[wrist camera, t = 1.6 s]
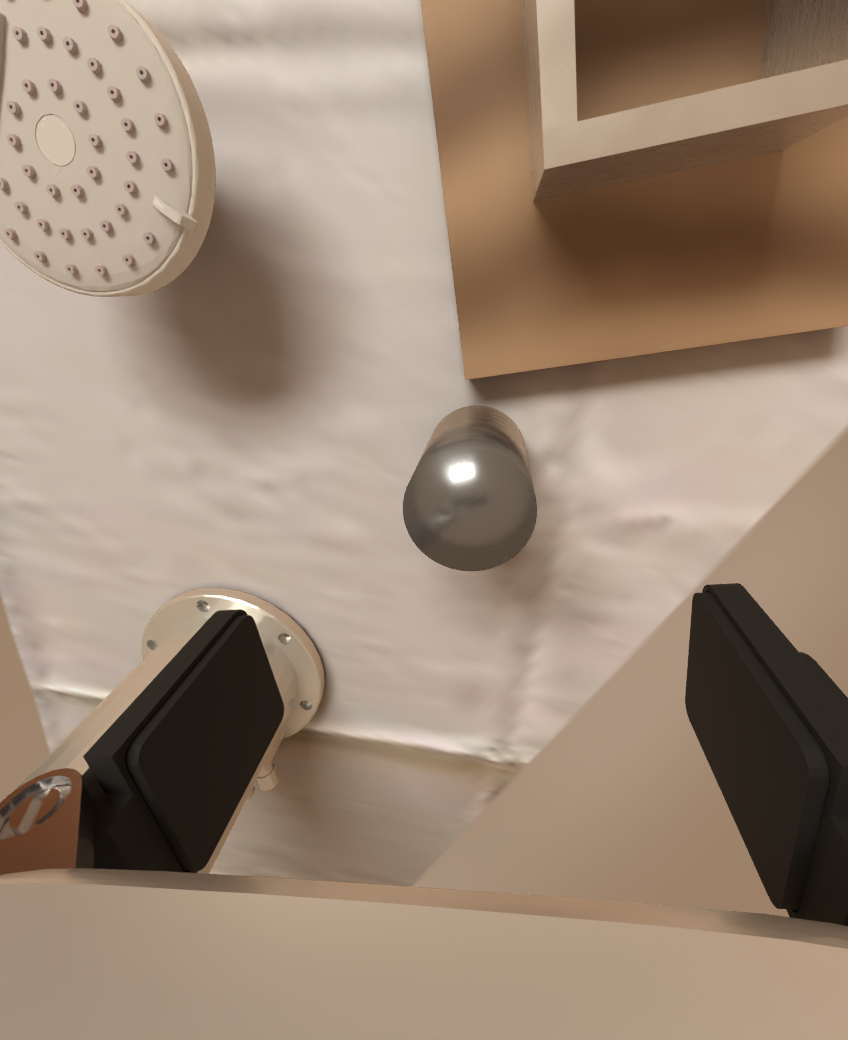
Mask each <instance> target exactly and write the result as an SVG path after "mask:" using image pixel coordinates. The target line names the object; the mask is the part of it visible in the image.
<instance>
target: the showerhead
mask: <svg viewBox="0 0 848 1040" xmlns="http://www.w3.org/2000/svg"><path fill="white" fill-rule="evenodd" d="M215 186H216V176H215V159H214V151H213V145H212V139H211V134H210V130H209V126H208V122H207V119H206V115H205V112H204V109H203V106H202V103H201V101H200V99H199V96H198V94H197V91H196V89H195V87H194V85H193V83H192V81H191V78H190V76H189V74H188V73H187V71H186V69H185V67H184V66H183V64H182V62H181V61H180V59H179V57H178V56H177V54H176V53H175V52H174V50H173V49H172V47H171V46H170V44H169V43H168V42H167V41H166V39H165V38H164V37H163V36H162V35H161V33H160V32H159V31H158V30H157V29H156V28H155V27H154V26H153V25H152V24H151V23H150V22H149V21H148V20H147V19H146V18H145V17H143V16H142V15H141V14H140V13H139V12H138V11H137V10H136V9H135V8H134V7H133V6H132V5H131V4H129V3H128V2H127V1H126V0H0V242H1V244H2V245H3V246H4V247H5V248H6V249H7V250H8V251H9V252H10V253H11V254H12V255H13V256H14V257H15V258H17V259H18V260H19V261H20V262H21V263H23V264H24V265H25V266H26V267H28V268H29V269H30V270H32V271H33V272H34V273H36V274H38V275H39V276H41V277H42V278H44V279H45V280H47V281H49V282H51V283H53V284H55V285H57V286H59V287H62V288H64V289H67V290H69V291H73V292H76V293H79V294H84V295H89V296H99V297H112V296H135V295H142V294H146V293H149V292H153V291H155V290H158V289H160V288H162V287H164V286H165V285H167V284H169V283H170V282H172V281H173V280H174V279H176V278H177V277H178V276H179V275H181V273H182V272H183V271H184V270H185V269H186V268H187V267H188V266H189V265H190V263H191V262H192V261H193V259H194V258H195V256H196V255H197V253H198V251H199V250H200V248H201V246H202V243H203V241H204V239H205V237H206V234H207V231H208V228H209V225H210V221H211V217H212V213H213V206H214V200H215Z"/></svg>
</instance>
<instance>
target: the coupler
mask: <svg viewBox="0 0 848 1040" xmlns="http://www.w3.org/2000/svg"><path fill="white" fill-rule="evenodd" d="M403 516H404V521H405V525H406V528H407V531H408V533H409V535H410V537H411V538H412V540H413V542H414V543H415V544H416V546H417V547H418V548H419V549H420V550H421V551H422V552H423V553H424V554H425V555H427V556H428V557H429V558H430V559H432V560H434V561H435V562H437V563H439V564H441V565H443V566H446V567H449V568H452V569H457V570H463V571H479V570H486V569H490V568H493V567H496V566H499V565H501V564H503V563H505V562H507V561H508V560H510V559H511V558H513V557H514V556H515V555H516V554H517V553H519V552H520V551H521V549H522V548H523V547H524V546H525V545H526V543H527V542H528V540H529V538H530V537H531V534H532V532H533V530H534V526H535V523H536V516H537V505H536V498H535V493H534V488H533V484H532V479H531V474H530V469H529V465H528V460H527V455H526V450H525V446H524V441H523V438H522V435H521V433H520V430H519V429H518V427H517V426H516V424H515V423H514V422H513V421H512V420H511V419H510V418H509V417H508V416H507V415H505V414H504V413H502V412H500V411H498V410H496V409H494V408H491V407H486V406H468V407H463V408H460V409H458V410H456V411H454V412H452V413H450V414H449V415H447V416H446V417H445V418H444V419H443V420H442V421H441V422H440V423H439V424H438V426H437V427H436V429H435V430H434V433H433V435H432V437H431V439H430V441H429V443H428V445H427V447H426V449H425V451H424V453H423V455H422V457H421V459H420V461H419V463H418V465H417V467H416V470H415V472H414V474H413V476H412V478H411V480H410V482H409V484H408V486H407V489H406V492H405V495H404V501H403Z"/></svg>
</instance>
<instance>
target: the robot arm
mask: <svg viewBox="0 0 848 1040" xmlns="http://www.w3.org/2000/svg"><path fill="white" fill-rule="evenodd" d="M142 657H143V661H142V662H141V663H140V664H139V665H138V666H137V667H136V668H135V669H134V670H133V671H132V672H131V673H130V674H129V675H128V676H127V677H126V678H125V679H124V680H123V681H122V682H121V683H120V684H119V685H118V686H117V687H116V688H115V689H114V690H113V691H112V692H111V693H110V694H109V695H108V696H107V697H106V698H105V699H104V700H103V701H102V702H101V703H100V704H99V705H98V706H97V707H96V708H95V709H94V710H93V711H92V712H91V713H90V714H89V715H88V716H87V717H86V718H85V719H84V720H83V721H82V722H81V723H80V724H79V725H78V726H77V727H76V728H75V729H74V730H73V731H72V732H71V733H70V734H69V735H68V736H67V737H66V738H65V739H64V740H63V741H62V742H61V743H60V744H59V745H58V747H57V748H56V749H55V750H54V751H53V752H52V753H51V754H50V755H49V756H48V757H47V758H46V759H45V760H44V761H43V762H42V763H41V764H40V765H39V766H38V767H37V768H36V769H35V770H34V771H33V772H32V773H31V774H30V775H29V776H28V777H27V778H26V779H25V780H24V781H23V782H22V783H21V784H20V785H19V786H18V787H17V788H16V789H15V790H14V791H13V792H12V793H11V794H9V795H8V796H7V797H6V798H5V799H4V800H3V801H1V802H0V1040H848V698H847V697H846V696H845V694H844V693H843V692H842V691H841V690H840V689H839V688H838V687H837V685H836V684H835V683H834V682H833V681H832V679H831V678H830V677H829V676H828V675H827V674H826V673H825V671H824V670H823V669H822V668H821V667H820V666H819V665H818V664H817V662H816V661H815V660H814V659H812V658H811V657H810V656H809V655H807V654H805V653H802V652H798V651H797V650H796V648H795V647H794V646H793V645H792V644H791V643H790V641H789V640H788V639H787V638H786V637H785V635H784V634H783V633H782V632H781V631H780V629H779V628H778V627H777V626H776V625H775V624H774V622H773V621H772V620H771V619H770V618H769V616H768V615H767V614H766V613H765V612H764V611H763V609H762V608H761V607H760V606H759V605H758V603H757V602H756V601H755V600H754V599H753V598H752V597H751V595H750V594H749V593H748V592H747V590H746V589H745V588H744V587H743V586H742V585H741V584H738V583H736V584H716V585H706V586H704V588H703V591H702V593H695V594H694V596H693V600H692V614H691V628H690V641H689V655H688V669H687V682H686V696H685V703H686V710H687V714H688V717H689V720H690V722H691V724H692V727H693V729H694V731H695V733H696V736H697V738H698V740H699V742H700V745H701V747H702V749H703V751H704V753H705V756H706V758H707V760H708V762H709V765H710V767H711V769H712V771H713V773H714V776H715V778H716V780H717V783H718V785H719V787H720V789H721V791H722V793H723V796H724V798H725V800H726V802H727V805H728V807H729V809H730V812H731V814H732V816H733V818H734V820H735V823H736V825H737V827H738V829H739V832H740V834H741V836H742V838H743V840H744V843H745V845H746V847H747V849H748V852H749V854H750V856H751V858H752V860H753V863H754V865H755V867H756V870H757V872H758V874H759V876H760V878H761V881H762V883H763V885H764V887H765V889H766V892H767V894H768V896H769V898H770V900H771V902H772V903H773V905H774V906H775V907H776V908H777V909H786V910H787V912H788V914H789V916H790V917H783V916H775V915H768V914H759V913H747V912H737V911H726V910H715V909H703V908H692V907H681V906H670V905H658V904H647V903H635V902H621V901H608V900H607V901H606V900H594V899H580V898H566V897H552V896H538V895H524V894H510V893H496V892H482V891H467V890H452V889H438V888H423V887H408V886H393V885H378V884H362V883H347V882H331V881H316V880H301V879H285V878H268V877H251V876H234V875H217V874H209V872H210V871H211V869H212V867H213V865H214V863H215V861H216V859H217V857H218V855H219V853H220V851H221V849H222V847H223V845H224V843H225V841H226V839H227V837H228V835H229V833H230V831H231V829H232V827H233V825H234V823H235V821H236V819H237V817H238V815H239V813H240V811H241V809H242V807H243V805H244V803H246V802H247V801H249V800H250V798H251V797H252V796H253V794H254V791H255V787H254V783H255V781H257V783H258V786H259V788H260V790H262V791H269V790H271V789H273V788H274V787H275V786H276V785H277V783H278V780H279V777H278V775H277V772H276V770H275V767H274V765H273V763H272V762H271V761H272V759H273V757H274V755H275V753H276V751H277V749H278V747H279V745H280V743H281V741H282V739H284V738H287V737H290V736H291V735H293V734H295V733H297V732H299V731H300V730H301V729H302V728H304V727H305V726H306V725H307V724H308V723H309V722H310V720H311V719H312V717H313V716H314V714H315V713H316V711H317V709H318V706H319V704H320V701H321V699H322V696H323V691H324V685H325V681H324V669H323V666H322V662H321V659H320V656H319V654H318V652H317V650H316V648H315V646H314V644H313V642H312V641H311V640H310V638H309V637H308V636H307V634H306V633H305V632H304V631H303V629H302V628H301V627H300V626H299V625H298V624H297V623H296V622H295V621H294V620H293V619H291V618H290V617H289V616H288V615H287V614H285V613H284V612H282V611H281V610H280V609H278V608H277V607H275V606H274V605H272V604H270V603H268V602H266V601H264V600H262V599H260V598H258V597H256V596H253V595H250V594H247V593H243V592H240V591H237V590H230V589H223V588H201V589H197V590H192V591H188V592H185V593H183V594H181V595H179V596H176V597H174V598H173V599H171V600H170V601H169V602H168V603H166V604H165V605H164V606H163V607H162V608H160V609H159V610H158V612H157V613H156V614H155V615H154V616H153V617H152V618H151V619H150V621H149V623H148V625H147V627H146V629H145V631H144V635H143V639H142Z"/></svg>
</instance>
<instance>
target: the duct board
mask: <svg viewBox="0 0 848 1040" xmlns="http://www.w3.org/2000/svg"><path fill="white" fill-rule="evenodd" d="M421 7H422V15H423V24H424V32H425V41H426V49H427V58H428V66H429V75H430V83H431V92H432V100H433V109H434V117H435V126H436V134H437V143H438V151H439V160H440V168H441V177H442V185H443V194H444V202H445V211H446V219H447V228H448V236H449V245H450V253H451V262H452V270H453V279H454V287H455V296H456V304H457V313H458V321H459V330H460V338H461V347H462V355H463V364H464V372H465V380H468V379H475V378H482V377H489V376H496V375H503V374H510V373H517V372H524V371H531V370H538V369H545V368H552V367H559V366H566V365H574V364H581V363H588V362H595V361H602V360H609V359H616V358H623V357H630V356H637V355H644V354H651V353H658V352H665V351H672V350H680V349H687V348H694V347H701V346H708V345H715V344H722V343H729V342H736V341H743V340H750V339H757V338H764V337H771V336H778V335H786V334H793V333H800V332H807V331H814V330H821V329H828V328H835V327H842V326H848V0H421Z"/></svg>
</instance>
